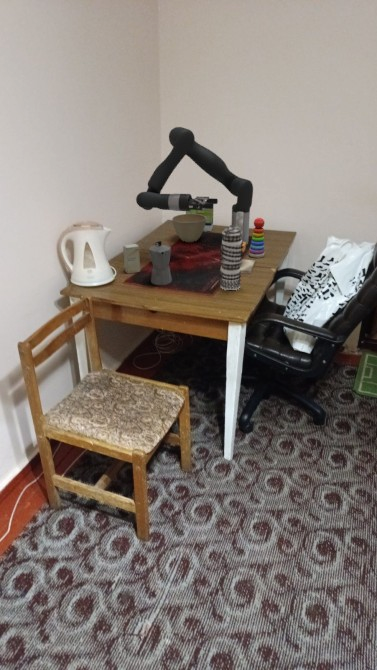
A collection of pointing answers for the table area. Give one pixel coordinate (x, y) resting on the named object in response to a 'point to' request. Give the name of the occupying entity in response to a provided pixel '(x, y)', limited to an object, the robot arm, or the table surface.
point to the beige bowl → (189, 226)
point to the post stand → (244, 264)
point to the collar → (244, 246)
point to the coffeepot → (160, 264)
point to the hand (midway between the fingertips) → (215, 203)
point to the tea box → (207, 213)
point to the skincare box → (131, 258)
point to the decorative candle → (231, 258)
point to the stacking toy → (257, 239)
